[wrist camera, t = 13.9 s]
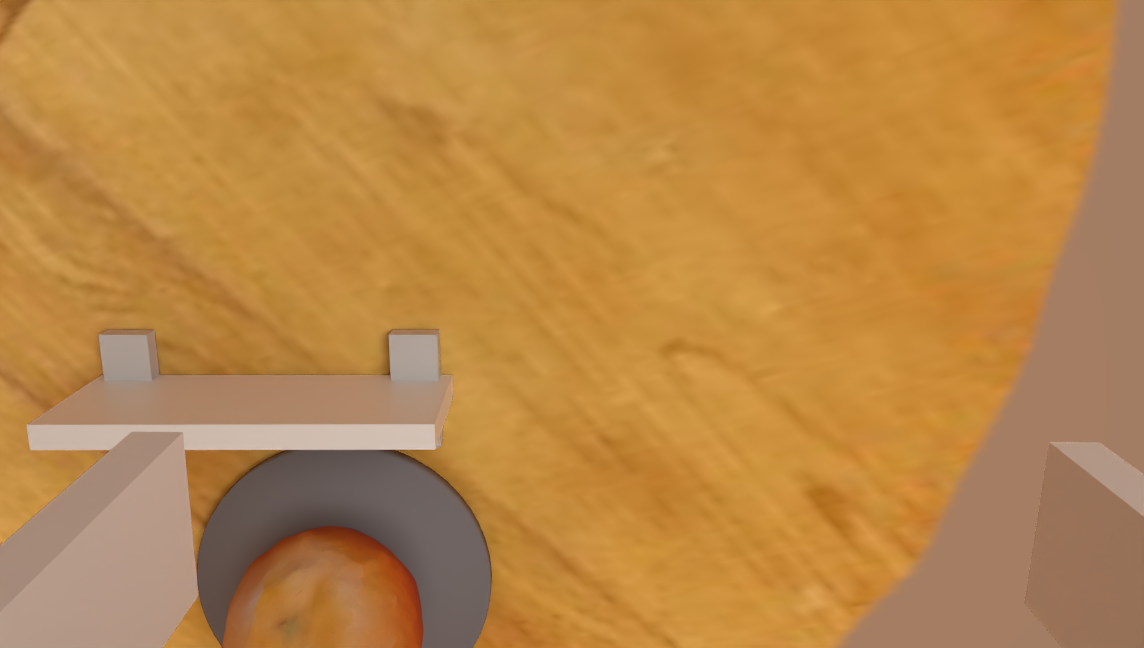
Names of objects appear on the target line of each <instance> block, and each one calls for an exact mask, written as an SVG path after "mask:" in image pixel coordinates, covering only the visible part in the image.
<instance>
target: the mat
mask: <svg viewBox="0 0 1144 648" xmlns="http://www.w3.org/2000/svg"><path fill="white" fill-rule="evenodd" d="M325 526H340V527H345V528H351V529H355V530H357V531H360V532H362V533H364V534H366V535H368V536H370V537H372V538H374V539H375V540H377V541H378V542H380V543H381V544H382V545H384V546H385V547H387V548H388V549H389V550H390V551H391V552H392V553H393V554H394V555H395V556H396V557H397V558H398V559H399V560H400V561H401V562H402V563H403V564H404V565H405V567H406V568H407V569H408V570H409V571H410V573H411V574H412V575H413V577H414V579H415V581H416V584H417V588H418V592H419V597H420V602H421V609H422V622H423V642H422V648H473V647H474V645H475V643H476V641H477V639H478V637H479V635H480V633H481V631H482V628H483V625H484V622H485V619H486V616H487V611H488V606H489V601H490V594H491V578H492V573H491V562H490V555H489V551H488V547H487V543H486V540H485V537H484V535H483V532H482V530H481V527H480V525H479V523H478V521H477V519H476V517H475V516H474V514H473V512H472V510H471V509H470V507H469V506H468V505H467V503H466V502H465V501H464V499H463V498H462V497H461V495H460V494H459V493H458V492H457V491H456V490H455V489H454V488H453V487H452V486H451V485H450V484H449V483H448V482H447V481H446V480H445V479H443V478H442V477H441V476H440V475H438V474H437V473H436V472H435V471H433V470H432V469H431V468H429V467H427V466H426V465H424V464H422V463H421V462H419V461H417V460H416V459H414V458H411V457H409V456H407V455H405V454H402V453H400V452H398V451H395V450H286V451H283V452H281V453H279V454H276V455H274V456H272V457H270V458H268V459H266V460H265V461H263V462H262V463H260V464H258V465H257V466H255V467H254V468H252V469H251V470H250V471H249V472H247V473H246V474H245V475H244V476H243V477H242V478H241V479H240V480H238V481H237V482H236V484H235V485H234V486H233V487H232V488H231V489H230V491H229V492H228V493H227V494H226V495H225V497H224V498H223V499H222V500H221V502H220V503H219V505H218V506H217V508H216V509H215V511H214V513H213V514H212V516H211V517H210V520H209V522H208V524H207V526H206V529H205V531H204V533H203V537H202V541H201V544H200V548H199V554H198V562H197V585H198V590H199V596H200V601H201V605H202V608H203V611H204V614H205V617H206V619H207V621H208V623H209V625H210V627H211V630H212V632H213V634H214V635H215V637H216V638H217V640H218V641H219V643H220V644H221V646H222V642H223V637H224V632H225V626H226V619H227V615H228V608H229V605H230V602H231V600H232V598H233V596H234V594H235V592H236V590H237V588H238V586H239V584H240V582H241V580H242V578H243V576H244V574H245V572H246V571H247V569H248V567H249V566H250V564H251V563H252V562H253V561H254V560H255V559H256V558H258V557H259V556H260V555H262V554H263V553H265V552H266V551H268V550H270V549H271V548H272V547H273V546H275V545H276V544H277V543H278V542H279V541H280V540H282V539H284V538H287V537H289V536H292V535H295V534H297V533H300V532H303V531H306V530H310V529H314V528H319V527H325Z"/></svg>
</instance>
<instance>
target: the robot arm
mask: <svg viewBox="0 0 1144 648" xmlns="http://www.w3.org/2000/svg"><path fill="white" fill-rule="evenodd" d="M197 597H198V586H197V575H196V565H195V554H194V544H193V533H192V523H191V512H190V501H189V491H188V480H187V470H186V459H185V448H184V438H183V432H131V433H130V434H128V435H127V436H126V437H125V438H124V439H123V440H121V441H120V442H119V443H118V444H117V445H116V446H115V447H113V448H112V449H111V450H110V451H109V452H108V453H106V454H105V455H104V456H103V457H102V458H101V459H100V460H98V461H97V462H96V463H95V464H94V465H93V466H91V467H90V468H89V469H88V470H87V471H86V472H85V473H83V474H82V475H81V476H80V477H79V478H78V479H76V480H75V481H74V482H73V483H72V484H71V485H69V486H68V487H67V488H66V489H65V490H64V491H63V492H61V493H60V494H59V495H58V496H57V497H56V498H54V499H53V500H52V501H51V502H50V503H49V504H48V505H46V506H45V507H44V508H43V509H42V510H41V511H39V512H38V513H37V514H36V515H35V516H34V517H33V518H31V519H30V520H29V521H28V522H27V523H26V524H24V525H23V526H22V527H21V528H20V529H19V530H18V531H16V532H15V533H14V534H13V535H12V536H11V537H9V538H8V539H7V540H6V541H5V542H4V543H2V544H1V545H0V648H163V647H164V645H165V644H166V643H167V641H168V640H169V638H170V637H171V635H172V634H173V632H174V631H175V629H176V628H177V626H178V625H179V623H180V622H181V620H182V619H183V617H184V616H185V615H186V613H187V612H188V610H189V609H190V607H191V606H192V604H193V603H194V601H195V600H196V598H197ZM1025 604H1026V605H1027V607H1028V608H1029V609H1030V610H1031V611H1032V613H1033V614H1034V615H1035V616H1036V617H1037V618H1038V620H1039V621H1040V622H1041V623H1042V624H1043V626H1044V627H1045V628H1046V629H1047V630H1048V631H1049V633H1050V634H1051V635H1052V636H1053V637H1054V638H1055V640H1056V641H1057V642H1058V643H1059V644H1060V646H1062V648H1144V474H1142V473H1141V472H1140V471H1138V470H1137V469H1135V468H1134V467H1133V466H1131V465H1130V464H1128V463H1127V462H1126V461H1124V460H1123V459H1122V458H1120V457H1119V456H1117V455H1116V454H1114V453H1113V452H1112V451H1110V450H1109V449H1107V448H1106V447H1105V446H1103V445H1102V444H1101V443H1098V442H1049V447H1048V453H1047V460H1046V467H1045V473H1044V479H1043V486H1042V492H1041V499H1040V505H1039V512H1038V518H1037V526H1036V531H1035V538H1034V545H1033V551H1032V557H1031V564H1030V570H1029V577H1028V584H1027V590H1026V597H1025Z"/></svg>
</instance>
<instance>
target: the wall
mask: <svg viewBox="0 0 1144 648" xmlns="http://www.w3.org/2000/svg"><path fill="white" fill-rule="evenodd" d="M98 336H99V344H100V352H101V360H102V368H103V375H100V376H99V377H97V378H96V379H94V380H93V381H91V382H90V383H88V384H87V385H85V386H84V387H82V388H81V389H79V390H78V391H76V392H75V393H73V394H72V395H70V396H69V397H67V398H66V399H64V400H63V401H61V402H60V403H58V404H57V405H55V406H54V407H52V408H51V409H49V410H48V411H46V412H45V413H43V414H42V415H40V416H39V417H37V418H36V419H34V420H33V421H31V422H30V423H28V424H27V425H26V426H27V433H28V439H29V446H30V450H111V449H112V448H113V447H115V446H116V445H117V444H118V443H119V442H120V441H121V440H123V439H124V438H125V437H126V436H127V435H128V434H130V433H131V432H183V438H184V448H185V450H436V447H441V445H442V442H443V426H444V423H445V420H446V417H447V414H448V411H449V408H450V405H451V402H452V399H453V377H452V375H441V368H440V338H439V330H391V332H390V333H389V354H390V375H160V374H159V365H158V356H157V347H156V338H155V330H106V331H104V332H103V333H101V334H99V335H98Z"/></svg>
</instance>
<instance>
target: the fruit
mask: <svg viewBox="0 0 1144 648" xmlns="http://www.w3.org/2000/svg"><path fill="white" fill-rule="evenodd" d="M422 642H423V622H422V609H421V602H420V597H419V592H418V588H417V584H416V581H415V579H414V577H413V575H412V574H411V573H410V571H409V570H408V569H407V568H406V567H405V565H404V564H403V563H402V562H401V561H400V560H399V559H398V558H397V557H396V556H395V555H394V554H393V553H392V552H391V551H390V550H389V549H388V548H387V547H385V546H384V545H382V544H381V543H380V542H378V541H377V540H375V539H374V538H372V537H370V536H368V535H366V534H364V533H362V532H360V531H357V530H355V529H351V528H345V527H340V526H325V527H319V528H314V529H310V530H306V531H303V532H300V533H297V534H295V535H292V536H289V537H287V538H284V539H282V540H280V541H279V542H278V543H277V544H276V545H275V546H273V547H272V548H271V549H270V550H268V551H266V552H265V553H263V554H262V555H260V556H259V557H258V558H256V559H255V560H254V561H253V562H252V563H251V564H250V566H249V567H248V569H247V571H246V572H245V574H244V576H243V578H242V580H241V582H240V584H239V586H238V588H237V590H236V592H235V594H234V596H233V598H232V600H231V602H230V605H229V608H228V615H227V619H226V626H225V632H224V637H223V642H222V648H422Z"/></svg>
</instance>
